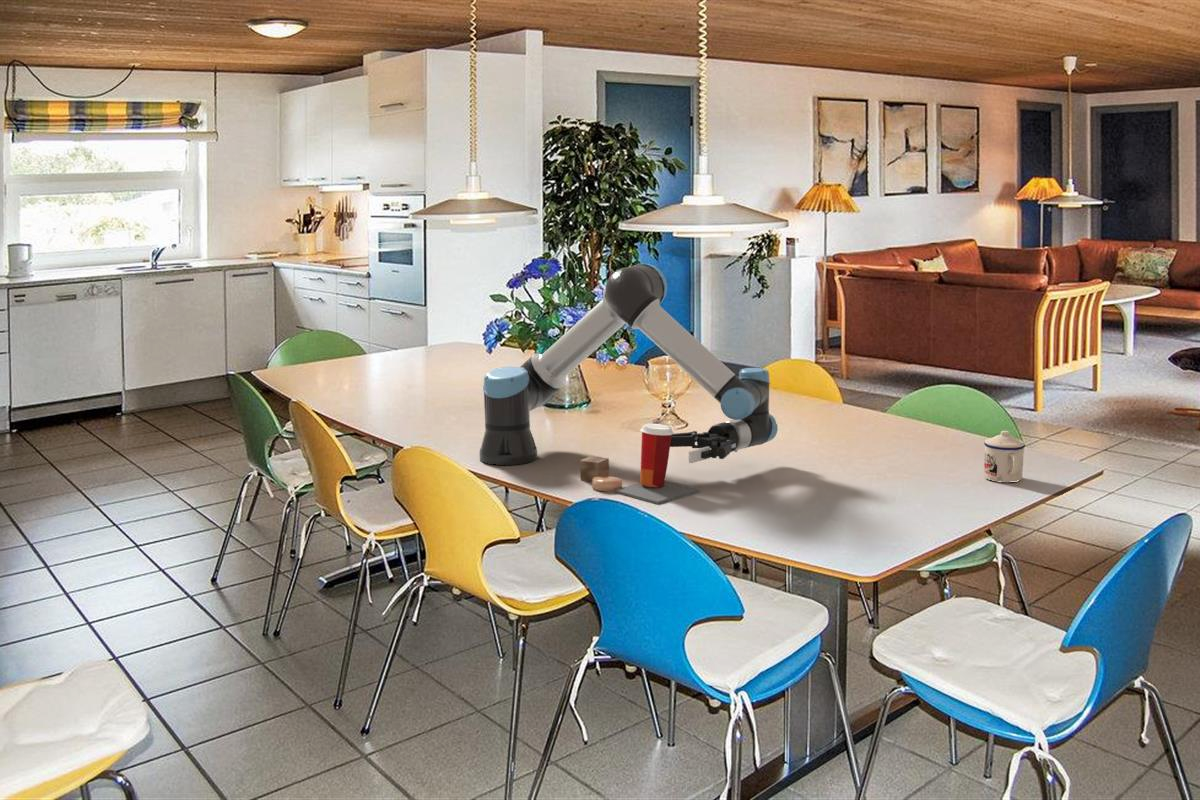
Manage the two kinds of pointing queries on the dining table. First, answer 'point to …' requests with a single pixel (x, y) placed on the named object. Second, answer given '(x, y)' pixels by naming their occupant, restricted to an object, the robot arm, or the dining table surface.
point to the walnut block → (594, 467)
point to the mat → (657, 492)
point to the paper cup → (654, 454)
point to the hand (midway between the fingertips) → (668, 452)
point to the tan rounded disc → (606, 483)
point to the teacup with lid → (1003, 458)
